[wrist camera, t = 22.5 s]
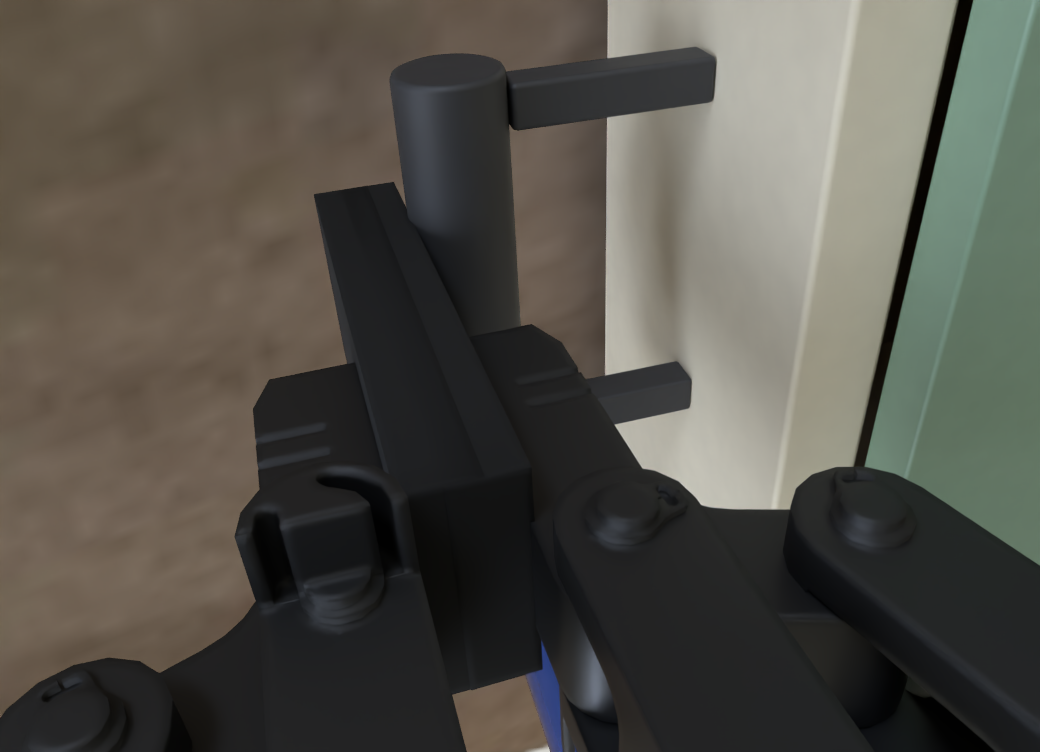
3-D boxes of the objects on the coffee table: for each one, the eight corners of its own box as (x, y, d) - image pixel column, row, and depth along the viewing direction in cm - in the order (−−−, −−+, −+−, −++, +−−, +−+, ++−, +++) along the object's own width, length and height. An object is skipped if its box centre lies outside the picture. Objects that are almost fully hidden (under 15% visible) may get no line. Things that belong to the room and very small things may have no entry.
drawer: (421, 462, 19) (499, 742, 13) (312, -252, 12) (391, -265, 6) (1113, 313, 22) (1399, 490, 17) (1363, -314, 15) (2005, -357, 10)
